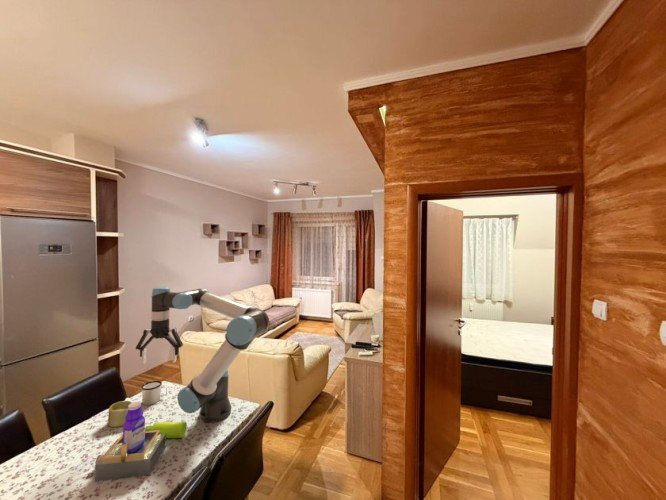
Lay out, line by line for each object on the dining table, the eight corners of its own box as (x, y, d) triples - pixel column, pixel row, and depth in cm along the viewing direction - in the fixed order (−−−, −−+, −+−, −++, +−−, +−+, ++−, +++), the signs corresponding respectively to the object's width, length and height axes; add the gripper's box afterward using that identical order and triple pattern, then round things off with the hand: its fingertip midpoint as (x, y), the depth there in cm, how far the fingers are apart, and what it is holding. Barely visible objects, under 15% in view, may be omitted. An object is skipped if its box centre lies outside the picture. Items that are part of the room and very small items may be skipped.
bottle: (131, 456, 104) (132, 409, 104) (119, 453, 105) (120, 408, 105) (147, 443, 111) (148, 399, 111) (135, 441, 112) (136, 398, 112)
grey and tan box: (165, 447, 117) (166, 419, 117) (149, 476, 102) (150, 443, 102) (109, 453, 113) (110, 424, 113) (84, 483, 98) (85, 450, 98)
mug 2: (139, 407, 146) (139, 390, 146) (142, 398, 155) (143, 382, 155) (165, 402, 151) (165, 386, 151) (167, 394, 160) (168, 378, 160)
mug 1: (97, 422, 130) (108, 400, 132) (120, 417, 139) (129, 397, 141) (111, 435, 125) (122, 412, 127) (134, 429, 134) (143, 408, 136)
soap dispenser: (178, 439, 119) (130, 439, 118) (184, 436, 126) (139, 437, 125) (181, 423, 122) (134, 423, 121) (187, 421, 128) (143, 422, 127)
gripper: (190, 316, 141) (189, 357, 141) (135, 317, 136) (134, 360, 136) (185, 320, 134) (184, 363, 134) (127, 321, 129) (126, 367, 129)
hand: (159, 362), depth 135 cm, fingers open, 13 cm apart
